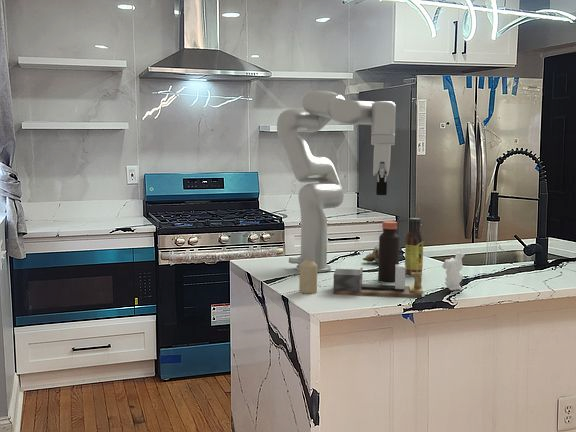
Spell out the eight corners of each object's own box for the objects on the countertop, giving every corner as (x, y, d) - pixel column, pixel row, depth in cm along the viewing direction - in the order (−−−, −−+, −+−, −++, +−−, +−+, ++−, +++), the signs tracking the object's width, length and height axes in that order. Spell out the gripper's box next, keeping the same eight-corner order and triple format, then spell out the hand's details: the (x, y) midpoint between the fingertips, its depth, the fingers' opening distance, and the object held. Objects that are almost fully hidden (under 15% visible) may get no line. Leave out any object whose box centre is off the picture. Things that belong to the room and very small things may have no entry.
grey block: (361, 288, 211) (361, 265, 210) (361, 285, 215) (362, 263, 214) (404, 290, 209) (405, 267, 208) (404, 287, 213) (405, 264, 212)
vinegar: (385, 283, 225) (387, 223, 222) (374, 279, 231) (375, 221, 228) (402, 281, 228) (404, 222, 226) (390, 277, 234) (392, 220, 232)
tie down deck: (333, 294, 209) (333, 273, 208) (335, 286, 220) (336, 266, 219) (423, 297, 205) (424, 276, 204) (421, 289, 216) (422, 269, 215)
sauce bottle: (422, 275, 237) (424, 219, 235) (404, 274, 238) (406, 219, 236) (422, 272, 244) (424, 217, 241) (404, 271, 245) (406, 217, 242)
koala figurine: (457, 286, 222) (458, 250, 220) (471, 290, 216) (472, 253, 214) (436, 288, 218) (438, 251, 216) (450, 292, 212) (452, 255, 210)
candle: (298, 289, 214) (298, 258, 213) (315, 289, 214) (316, 258, 213) (300, 294, 208) (300, 262, 207) (317, 293, 209) (318, 262, 208)
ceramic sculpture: (404, 239, 261) (385, 246, 250) (404, 261, 263) (385, 269, 251) (381, 237, 268) (360, 244, 257) (381, 258, 269) (361, 266, 258)
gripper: (371, 140, 224) (370, 191, 226) (370, 140, 207) (369, 195, 209) (394, 140, 223) (392, 191, 225) (395, 140, 206) (393, 196, 208)
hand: (381, 193), depth 217 cm, fingers open, 9 cm apart
